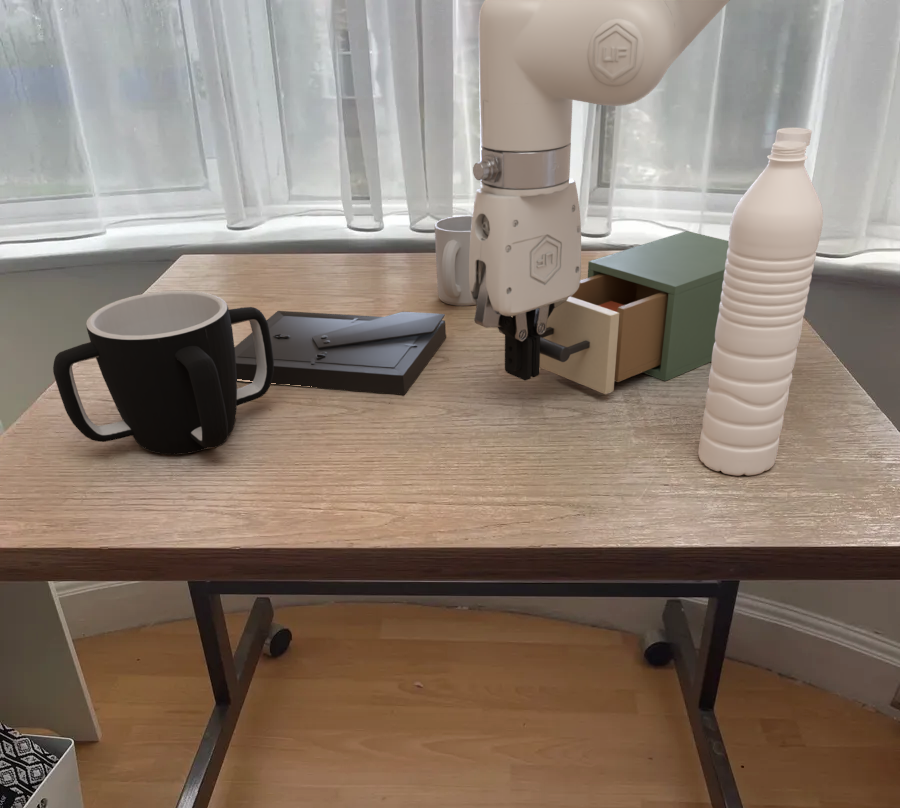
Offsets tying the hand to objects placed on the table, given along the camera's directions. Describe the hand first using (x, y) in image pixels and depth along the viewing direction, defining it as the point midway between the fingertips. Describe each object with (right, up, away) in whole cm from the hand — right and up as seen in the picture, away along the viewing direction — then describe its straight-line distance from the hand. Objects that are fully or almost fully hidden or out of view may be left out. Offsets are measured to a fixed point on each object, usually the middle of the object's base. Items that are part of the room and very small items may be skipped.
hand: (521, 373), depth 87 cm
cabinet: (+18, +6, +12) cm, 22 cm away
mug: (-32, -6, 0) cm, 33 cm away
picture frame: (-19, +5, +13) cm, 24 cm away
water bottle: (+18, -9, -8) cm, 22 cm away
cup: (-5, +16, +27) cm, 32 cm away
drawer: (+9, +3, +7) cm, 12 cm away
